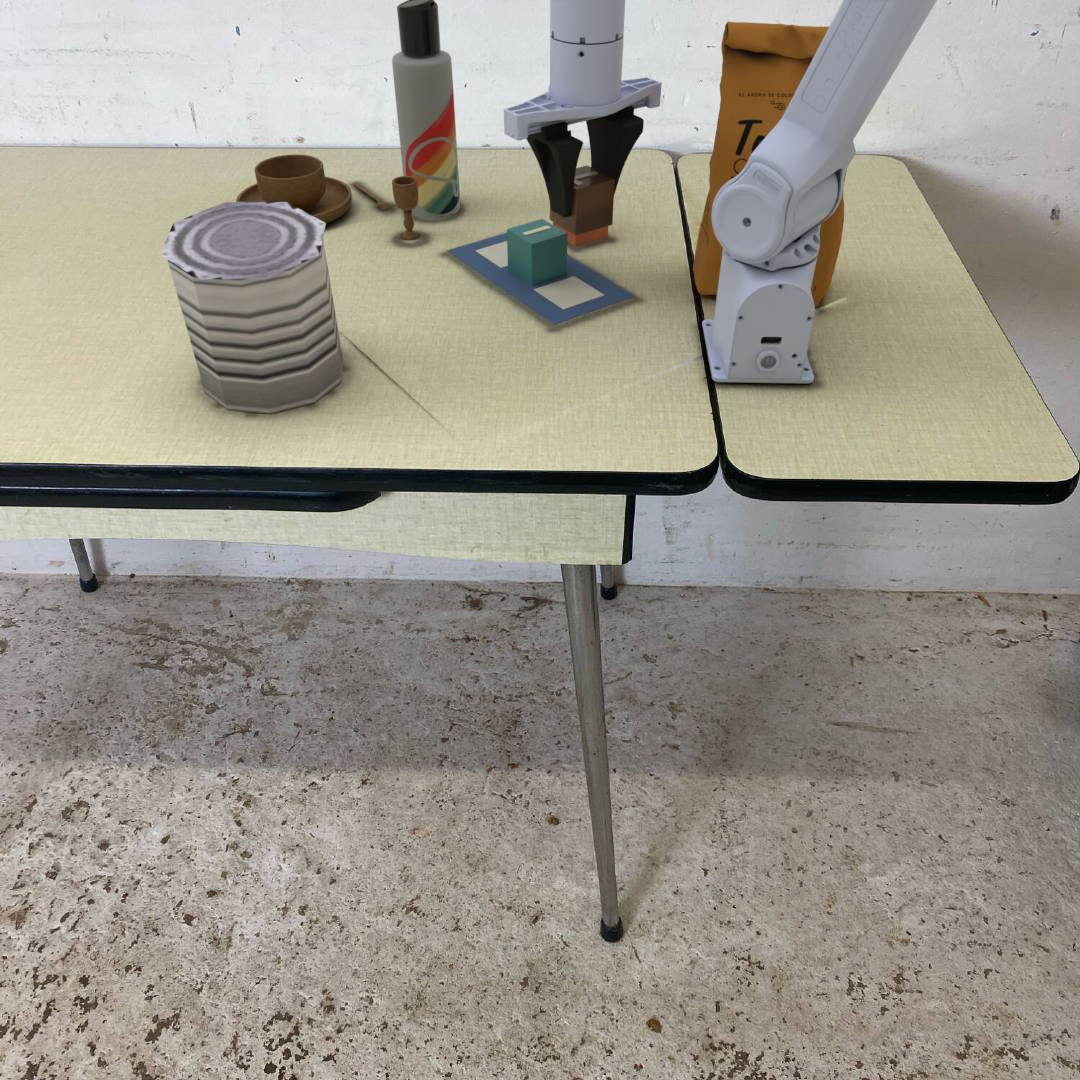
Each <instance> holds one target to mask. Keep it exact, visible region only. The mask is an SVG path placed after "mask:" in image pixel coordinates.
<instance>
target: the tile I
mask: <svg viewBox="0 0 1080 1080" xmlns="http://www.w3.org/2000/svg"><path fill="white" fill-rule="evenodd" d="M506 233H507V253H508V270H509V271H511V272H512V273H514V274H515V275H517V276H518V277H520V278H521V279H523V280H524V281H526V282H527V283H529V284H530V285H535V284H539V283H542V282H545V281H548V280H551V279H554V278H557V277H560V276H563V275H566V274H567V255H568V242H567V233H566V232H564V231H562V230H561V229H559V228H557V227H556V226H554V225H553V223H551V222H549V221H547V220H545V219H544V218H540V219H536V220H533V221H530V222H526V223H523V224H519V225H516V226H513V227H510V228H507V229H506Z"/></svg>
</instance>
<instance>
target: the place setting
mask: <svg viewBox="0 0 1080 1080" xmlns="http://www.w3.org/2000/svg"><path fill="white" fill-rule="evenodd" d="M254 175H255V179H256V183H254V184H252V185H250V186H248V187H246V188H245V189H244V190H242V191H241V192H240V193H239V194H238V195H237V197H236V200H235V202H288V203H289V204H291V205H293V206H295V207H297V208H299V209H301V210H302V211H304V212H306V213H308V214H310V215H312V216H314V217H315V218H317V219H319V220H321V221H323V222H325V223H326V225H328V224H330V223H332V222H334V221H335V220H337V219H339V218H340V217H342V216H343V215H344V214H345V213H346V212H347V211H348V210H349V208H350V206H351V204H352V201H353V193H352V189H351V187H350V186H349V185H348V184H346V183H345V182H344V181H341V180H340V179H337V178H333V177H330V176H326V174H325V168H324V163H323V161H322V160H320V159H319V158H318V157H316V156H313V155H307V154H295V153H294V154H283V155H282V154H281V155H277V156H276V155H275V156H273V157H269V158H266V159H264V160H262V161H260V162H259V163H257V165H255V167H254ZM353 185H354V187H356V188H357V189H359V190H360V191H361V192H363V193H364V194H366V195H367V196H369V197H370V198H372V199H373V200H375V201H376V202H377V203H376V206H377V207H378V208H380V209H388V208H394V207H396V208H397V209H399V210H401V211H403V217H404V218H403V221H402V225H403V227H404V229H405V232H403V233H401V234H400V235H399V238H400V239H401V240H403V241H408V242H409V241H416V240H418V239H419V238H421V234H420V233H419V232H417V231H416V232H415V231H414V227H415V221H414V219H413V215H412V211H411V210H412V209H414V208H415V207H416V206H417V204H418V184H417V179H416V178H415V177H411V176H403V175H401V176H397V177H394V178H393V179H392V180H391V187H392V195H393V200H394V203H389V202H386V201H383V200H382V199H381V198H380V197H378V196H377V195H375V194H374V193H373V192H372V191H370V190H369V189H367V188H366V187H364V186H363V185H361V184H359V183H358V182H353Z"/></svg>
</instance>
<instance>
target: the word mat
mask: <svg viewBox="0 0 1080 1080" xmlns="http://www.w3.org/2000/svg"><path fill="white" fill-rule="evenodd" d="M446 251H447V252H448V253H449V254H451V255H452V256H453V257H455V258H456V259H458V260H459V261H460V262H462V263H464V264H465V265H467V266H468V267H469V268H471V269H472V270H474V271H475V272H477V273H478V274H480V275H481V276H482V277H484V278H485V279H486V280H488V281H489V282H491V283H492V284H494V285H495V286H497V287H498V288H500V289H501V290H502V291H505V293H507V294H509V295H510V296H512V297H513V298H514V299H516V300H517V301H518V302H520V303H521V304H523V305H525V306H526V307H528V308H529V309H530V310H532V311H533V312H534V313H536V314H537V315H539V316H541V318H543V319H545V320H546V321H548V322H549V323H551V324H552V325H553V326H555V325H559V324H562V323H564V322H567V321H570V320H572V319H575V318H578V317H581V316H584V315H587V314H590V313H592V312H595V311H598V310H601V309H604V308H607V307H609V306H612V305H615V304H618V303H620V302H623V301H626V300H629V299H632V298H635V297H636V295H635V294H633V293H631V292H629V291H628V290H627V289H625V288H624V287H621V286H619V285H618V284H616V283H615V282H613V281H611V280H609V279H608V278H606V277H605V276H603V275H601V274H600V273H598V272H596V271H595V270H593V269H592V268H590V267H588V266H586V265H584V264H583V263H581V262H580V261H578V260H576V259H574V258H573V257H571V256H570V255H568V254H567V274H566V275H563V276H560V277H557V278H554V279H551V280H548V281H545V282H542V283H539V284H535V285H530V284H529V283H527V282H526V281H524V280H523V279H521V278H520V277H518V276H517V275H515V274H514V273H512V272H511V271H509V270H508V253H507V232H505V233H503V234H498V235H494V236H492V237H488V238H484V239H481V240H477V241H475V242H471V243H467V244H464V245H460V246H457V247H454V248H451V249H447V250H446Z"/></svg>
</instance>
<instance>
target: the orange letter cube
mask: <svg viewBox="0 0 1080 1080" xmlns="http://www.w3.org/2000/svg"><path fill="white" fill-rule="evenodd" d="M552 225H554V226H556V227H557V228H559V229H561V230H562V231H564V232H566V233H567V243H568V244H571V245H573V246H574V247H578V246H582V245H585V244H586V245H587V244H590V243H592V242H596V241H598V240H602V239H606V238H608V237H609V226H606V227H603V228H600V229H596V230H593V231H589V232H586V233H582V234H579V235H574V234H572V233H571V232H569V231H567V230H566V229H564V228H562V227H561V226H559V225H558V224H556V223H554V222H553V221H552Z"/></svg>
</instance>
